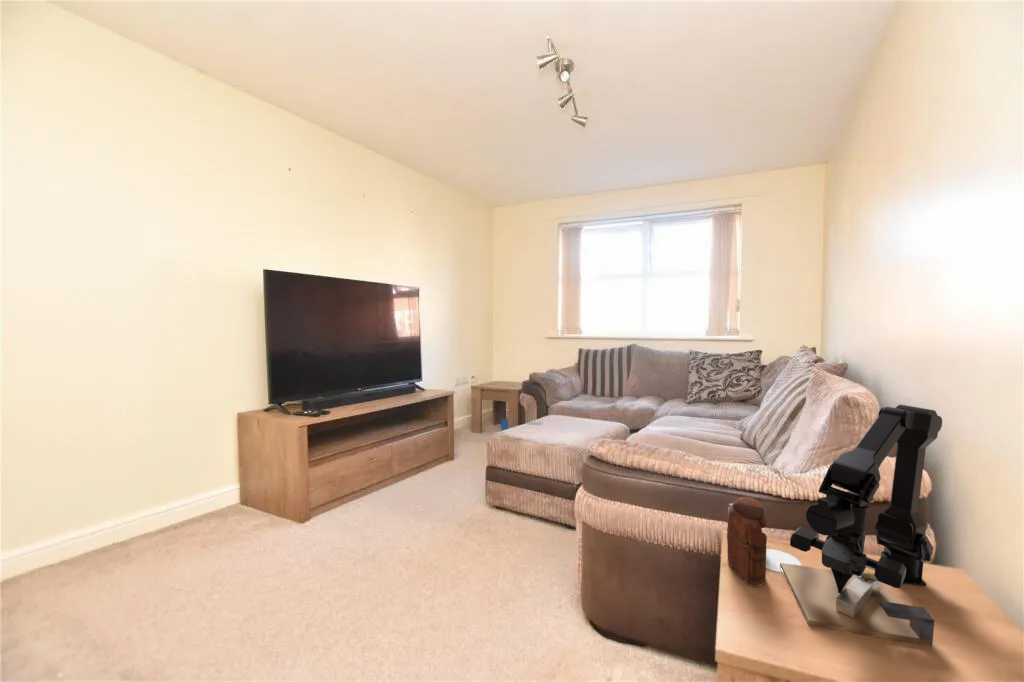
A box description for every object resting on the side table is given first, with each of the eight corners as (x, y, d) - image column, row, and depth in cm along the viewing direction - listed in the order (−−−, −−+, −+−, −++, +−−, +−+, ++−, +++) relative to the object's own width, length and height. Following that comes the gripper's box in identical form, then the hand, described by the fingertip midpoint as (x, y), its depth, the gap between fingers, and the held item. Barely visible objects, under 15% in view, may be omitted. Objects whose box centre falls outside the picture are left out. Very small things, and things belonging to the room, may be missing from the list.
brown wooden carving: (775, 587, 101) (779, 509, 100) (748, 588, 101) (751, 510, 99) (744, 557, 113) (748, 487, 111) (720, 558, 113) (722, 488, 111)
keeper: (921, 633, 87) (923, 607, 87) (932, 646, 84) (934, 619, 83) (878, 626, 89) (879, 600, 89) (886, 639, 86) (888, 612, 85)
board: (879, 581, 103) (880, 560, 102) (932, 646, 84) (934, 620, 83) (779, 567, 108) (780, 547, 108) (808, 625, 89) (809, 601, 89)
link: (856, 578, 102) (857, 567, 101) (883, 589, 98) (883, 578, 98) (830, 607, 92) (831, 595, 92) (859, 620, 89) (859, 608, 88)
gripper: (784, 517, 95) (777, 586, 97) (900, 559, 81) (889, 638, 83) (802, 501, 102) (795, 565, 104) (911, 536, 88) (900, 610, 90)
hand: (840, 592), depth 95 cm, fingers closed
